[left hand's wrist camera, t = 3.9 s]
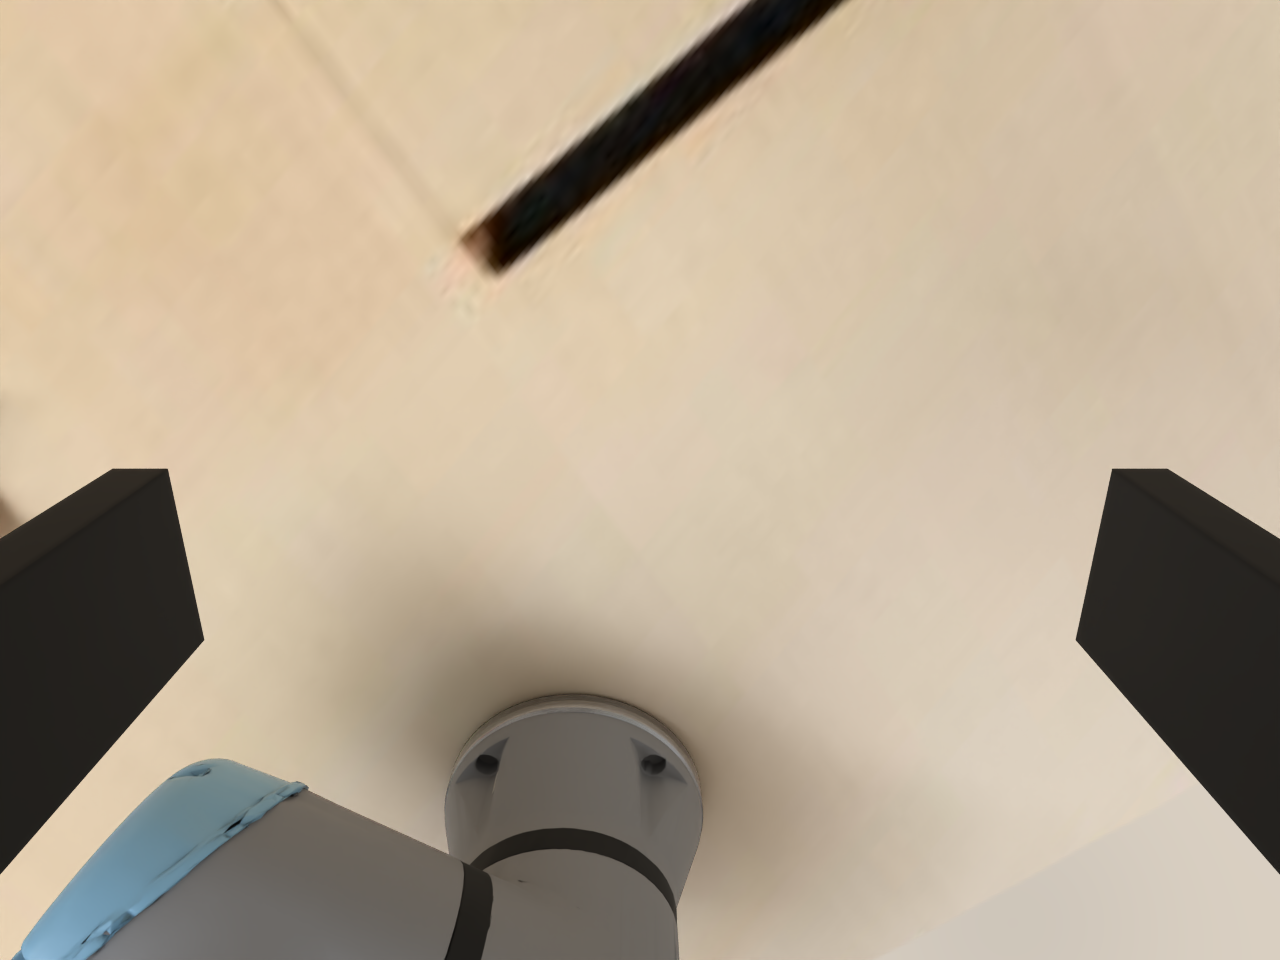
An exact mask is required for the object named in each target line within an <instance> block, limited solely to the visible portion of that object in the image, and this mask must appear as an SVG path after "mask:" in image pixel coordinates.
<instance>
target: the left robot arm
mask: <svg viewBox="0 0 1280 960" xmlns="http://www.w3.org/2000/svg"><path fill="white" fill-rule="evenodd" d="M203 641H204V636H203V632H202V627H201V622H200V618H199V613H198V608H197V604H196V599H195V594H194V589H193V585H192V580H191V575H190V571H189V566H188V561H187V557H186V552H185V547H184V543H183V538H182V533H181V529H180V524H179V519H178V515H177V510H176V505H175V501H174V496H173V491H172V486H171V482H170V477H169V472H168V469H111V470H110V471H108V472H107V473H105V474H103V475H102V476H100V477H99V478H97V479H95V480H94V481H92V482H91V483H89V484H87V485H86V486H84V487H83V488H81V489H79V490H78V491H76V492H75V493H73V494H71V495H70V496H68V497H67V498H65V499H63V500H62V501H60V502H59V503H57V504H55V505H54V506H52V507H51V508H49V509H47V510H46V511H44V512H43V513H41V514H39V515H38V516H36V517H35V518H33V519H31V520H30V521H28V522H27V523H25V524H23V525H22V526H20V527H19V528H17V529H15V530H14V531H12V532H11V533H9V534H7V535H6V536H4V537H3V538H1V539H0V874H1V873H2V872H3V871H4V869H5V868H6V867H7V866H8V865H9V864H10V863H11V861H12V860H13V859H14V858H15V857H16V856H17V855H18V853H19V852H20V851H21V850H22V849H23V848H24V847H25V845H26V844H27V843H28V842H29V841H30V840H31V838H32V837H33V836H34V835H35V834H36V833H37V832H38V830H39V829H40V828H41V827H42V826H43V825H44V824H45V822H46V821H47V820H48V819H49V818H50V817H51V815H52V814H53V813H54V812H55V811H56V810H57V809H58V807H59V806H60V805H61V804H62V803H63V802H64V801H65V799H66V798H67V797H68V796H69V795H70V794H71V793H72V791H73V790H74V789H75V788H76V787H77V786H78V784H79V783H80V782H81V781H82V780H83V779H84V778H85V776H86V775H87V774H88V773H89V772H90V771H91V770H92V768H93V767H94V766H95V765H96V764H97V763H98V761H99V760H100V759H101V758H102V757H103V756H104V755H105V753H106V752H107V751H108V750H109V749H110V748H111V747H112V745H113V744H114V743H115V742H116V741H117V740H118V739H119V737H120V736H121V735H122V734H123V733H124V732H125V730H126V729H127V728H128V727H129V726H130V725H131V724H132V722H133V721H134V720H135V719H136V718H137V717H138V716H139V714H140V713H141V712H142V711H143V710H144V709H145V708H146V706H147V705H148V704H149V703H150V702H151V701H152V699H153V698H154V697H155V696H156V695H157V694H158V693H159V691H160V690H161V689H162V688H163V687H164V686H165V685H166V683H167V682H168V681H169V680H170V679H171V678H172V676H173V675H174V674H175V673H176V672H177V671H178V670H179V668H180V667H181V666H182V665H183V664H184V663H185V662H186V660H187V659H188V658H189V657H190V656H191V655H192V654H193V652H194V651H195V650H196V649H197V648H198V647H199V645H200V644H201V643H202V642H203ZM1076 641H1077V642H1078V643H1079V644H1080V645H1081V647H1082V648H1083V649H1084V650H1085V651H1086V652H1087V654H1088V655H1089V656H1090V657H1091V658H1092V659H1093V660H1094V662H1095V663H1096V664H1097V665H1098V666H1099V667H1100V668H1101V670H1102V671H1103V672H1104V673H1105V674H1106V675H1107V676H1108V678H1109V679H1110V680H1111V681H1112V682H1113V683H1114V685H1115V686H1116V687H1117V688H1118V689H1119V690H1120V691H1121V693H1122V694H1123V695H1124V696H1125V697H1126V698H1127V699H1128V701H1129V702H1130V703H1131V704H1132V705H1133V706H1134V708H1135V709H1136V710H1137V711H1138V712H1139V713H1140V714H1141V716H1142V717H1143V718H1144V719H1145V720H1146V721H1147V722H1148V724H1149V725H1150V726H1151V727H1152V728H1153V729H1154V730H1155V732H1156V733H1157V734H1158V735H1159V736H1160V737H1161V739H1162V740H1163V741H1164V742H1165V743H1166V744H1167V745H1168V747H1169V748H1170V749H1171V750H1172V751H1173V752H1174V753H1175V755H1176V756H1177V757H1178V758H1179V759H1180V760H1181V761H1182V763H1183V764H1184V765H1185V766H1186V767H1187V768H1188V770H1189V771H1190V772H1191V773H1192V774H1193V775H1194V776H1195V778H1196V779H1197V780H1198V781H1199V782H1200V783H1201V784H1202V786H1203V787H1204V788H1205V789H1206V790H1207V791H1208V792H1209V794H1210V795H1211V796H1212V797H1213V798H1214V799H1215V801H1216V802H1217V803H1218V804H1219V805H1220V806H1221V807H1222V809H1223V810H1224V811H1225V812H1226V813H1227V814H1228V815H1229V817H1230V818H1231V819H1232V820H1233V821H1234V822H1235V823H1236V825H1237V826H1238V827H1239V828H1240V829H1241V830H1242V831H1243V833H1244V834H1245V835H1246V836H1247V837H1248V838H1249V840H1250V841H1251V842H1252V843H1253V844H1254V845H1255V847H1256V848H1257V849H1258V850H1259V851H1260V852H1261V853H1262V854H1263V856H1264V857H1265V858H1266V859H1267V860H1268V861H1269V863H1270V864H1271V865H1272V866H1273V867H1274V868H1275V869H1276V871H1277V872H1278V873H1279V874H1280V539H1279V538H1277V537H1276V536H1274V535H1273V534H1271V533H1269V532H1268V531H1266V530H1265V529H1263V528H1261V527H1260V526H1258V525H1257V524H1255V523H1253V522H1252V521H1250V520H1249V519H1247V518H1245V517H1244V516H1242V515H1241V514H1239V513H1237V512H1236V511H1234V510H1233V509H1231V508H1229V507H1228V506H1226V505H1225V504H1223V503H1221V502H1220V501H1218V500H1217V499H1215V498H1213V497H1212V496H1210V495H1209V494H1207V493H1205V492H1204V491H1202V490H1201V489H1199V488H1197V487H1196V486H1194V485H1193V484H1191V483H1189V482H1188V481H1186V480H1185V479H1183V478H1181V477H1180V476H1178V475H1177V474H1175V473H1173V472H1172V471H1170V470H1169V469H1112V472H1111V477H1110V482H1109V486H1108V491H1107V496H1106V501H1105V505H1104V510H1103V515H1102V519H1101V524H1100V529H1099V533H1098V538H1097V543H1096V547H1095V552H1094V557H1093V561H1092V566H1091V571H1090V575H1089V580H1088V585H1087V589H1086V594H1085V599H1084V604H1083V608H1082V613H1081V618H1080V622H1079V627H1078V632H1077V636H1076ZM308 788H309V787H308V786H307V785H305V784H303V783H301V782H298V781H296V782H292V783H290V782H287V781H284V780H282V779H279V778H276V777H274V776H271V775H268V774H266V773H263V772H260V771H258V770H255V769H253V768H250V767H247V766H245V765H242V764H239V763H237V762H234V761H232V760H227V759H208V760H203V761H199V762H196V763H193V764H191V765H189V766H187V767H185V768H183V769H181V770H179V771H178V772H176V773H175V774H174V775H172V776H171V777H170V778H168V779H167V780H166V781H165V782H163V783H162V784H161V785H160V786H159V787H158V788H157V789H155V790H154V791H153V792H152V793H151V794H150V795H149V796H148V797H147V798H146V799H145V800H144V801H143V802H142V803H141V804H140V805H139V806H138V807H137V808H136V809H135V810H134V811H133V812H132V813H131V814H130V815H129V816H128V817H127V818H126V819H125V820H124V821H123V822H122V823H121V824H120V826H119V827H118V828H117V829H116V830H115V831H114V832H113V833H112V834H111V835H110V836H109V837H108V839H107V840H106V841H105V842H104V843H103V844H102V845H101V846H100V848H99V849H98V850H97V851H96V852H95V853H94V854H93V855H92V857H91V858H90V859H89V860H88V861H87V862H86V864H85V865H84V866H83V867H82V868H81V869H80V871H79V872H78V873H77V874H76V875H75V877H74V878H73V879H72V880H71V881H70V883H69V884H68V885H67V886H66V887H65V889H64V890H63V891H62V892H61V893H60V895H59V896H58V897H57V898H56V900H55V901H54V902H53V903H52V905H51V906H50V907H49V908H48V909H47V911H46V912H45V913H44V914H43V916H42V917H41V918H40V920H39V921H38V922H37V924H36V925H35V926H34V928H33V929H32V930H31V932H30V933H29V934H28V936H27V937H26V938H25V940H24V941H23V944H22V946H21V950H20V951H19V952H18V953H16V955H15V956H14V957H13V958H12V960H679V947H678V932H677V911H676V908H677V905H678V902H679V899H680V896H681V893H682V891H683V888H684V885H685V882H686V879H687V876H688V873H689V870H690V868H691V865H692V862H693V859H694V856H695V853H696V850H697V847H698V844H699V840H700V835H701V830H702V823H703V806H702V795H701V787H700V780H699V777H698V773H697V770H696V767H695V765H694V762H693V760H692V758H691V757H690V755H689V753H688V751H687V750H686V748H685V747H684V746H683V744H682V743H681V742H680V740H679V739H678V738H677V737H676V736H675V735H674V734H673V733H672V732H671V731H670V730H669V729H668V728H667V727H666V726H664V725H663V724H662V723H660V722H659V721H658V720H656V719H655V718H653V717H652V716H650V715H648V714H647V713H645V712H643V711H641V710H639V709H637V708H635V707H633V706H630V705H628V704H625V703H622V702H619V701H616V700H612V699H608V698H603V697H599V696H591V695H578V694H567V695H554V696H546V697H541V698H537V699H533V700H529V701H526V702H523V703H520V704H518V705H515V706H513V707H510V708H508V709H506V710H504V711H503V712H501V713H499V714H497V715H496V716H494V717H493V718H491V719H490V720H488V721H487V722H486V723H485V724H483V725H482V726H481V727H480V728H479V729H478V730H477V731H476V732H475V733H474V734H473V735H472V736H471V737H470V739H469V740H468V741H467V742H466V744H465V745H464V747H463V749H462V750H461V752H460V754H459V756H458V758H457V760H456V763H455V766H454V768H453V771H452V775H451V778H450V782H449V785H448V788H447V793H446V798H445V827H446V834H447V841H448V848H449V855H448V854H446V853H444V852H442V851H439V850H437V849H435V848H433V847H431V846H428V845H426V844H424V843H422V842H419V841H417V840H415V839H413V838H411V837H408V836H406V835H404V834H402V833H400V832H397V831H395V830H393V829H391V828H388V827H386V826H384V825H382V824H380V823H377V822H375V821H373V820H371V819H369V818H366V817H364V816H362V815H360V814H357V813H355V812H353V811H351V810H349V809H346V808H344V807H342V806H340V805H337V804H335V803H333V802H331V801H329V800H327V799H325V798H323V797H321V796H319V795H317V794H314V793H312V792H310V791H308Z"/></svg>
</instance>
